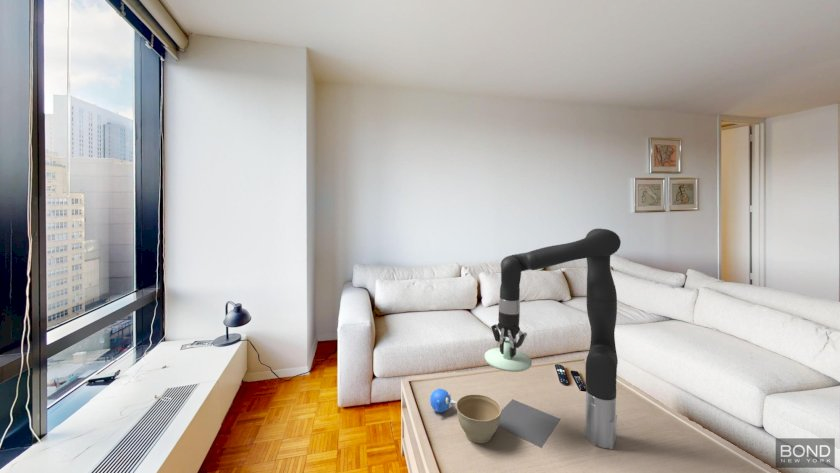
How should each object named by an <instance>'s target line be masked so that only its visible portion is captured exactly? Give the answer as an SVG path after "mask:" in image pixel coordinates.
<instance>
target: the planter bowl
mask: <svg viewBox="0 0 840 473" xmlns="http://www.w3.org/2000/svg"><path fill="white" fill-rule="evenodd" d="M456 402H457V404H456V405H455V406H456V413H457V420H458V422H459V425H460V427H461V429H462V430H463V432H464V434H465V437H466V438H467V439H468V440H469V441H471V442H472V443H473V442H474V443H476V444H484V443H487V442H489V441H490V440H491V439H492V437H493V435H494V434H495V433H496V431H497V430H498V428H499V427H498V426H499V422H500V415H501V410H502V407H501V405H500V403H499V402H498V401H497V400H496V399H494V398H492V397H490V396H488V395H484V394H479V393H478V394H473V393H472V394H466V395H464V396H462V397H460V398H458V400H457V401H456Z"/></svg>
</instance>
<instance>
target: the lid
mask: <svg viewBox="0 0 840 473" xmlns="http://www.w3.org/2000/svg"><path fill="white" fill-rule="evenodd" d="M510 348H511V344H510V341H509V340H506V341H504V353H503V354H501V352H500V347H493V348H490V349H488V350H487V351H486V352H485V353H484V361H485V362H486V364H488V365H489V366H491V367H492V368H495V369H497V370H500V371H503V372H511V373H518V372H524V371H527V370H529V369H530V368H531V367H532V363H533V362H532V358H531V357H530V356H529V355H528V354H527V353H525V352H523V351H521V350H518V349H516V355H515V356H514V357H510Z"/></svg>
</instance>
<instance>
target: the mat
mask: <svg viewBox="0 0 840 473" xmlns="http://www.w3.org/2000/svg"><path fill="white" fill-rule="evenodd" d="M560 421H561V418H560V417H557V416H555V415H553V414H550V413H547V412H545V411H543V410H540V409H537V408H535V407H532V406H530V405H528V404H525V403H523V402H520V401H518V400H515V399H511V400H510V401H508V403H507V404H506V405H505V406H504V407H503V408H501V415H500V422H499V426H498V428H500V429H502V430H504V431H506V432H507V433H510V434H512V435H514V436H516V437H518V438H520V439H523V440H525V441H527V442H529V443H531V444H533V445H534V446H537V447H538V448H542V447H543V446H544V445H545V443H546V441H547V440H548V438H549V437H550V435H551V434H552V432H553V431H554V430H555V428H556V427H557V426H558V423H559V422H560Z"/></svg>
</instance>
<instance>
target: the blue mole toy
mask: <svg viewBox="0 0 840 473" xmlns="http://www.w3.org/2000/svg"><path fill="white" fill-rule="evenodd" d="M429 402H430V406H431V407H432V409H433V410H434V412H435V411H436V413H444V412H446V411H448V409H451V408H452V407H454V406H456V404H457V401H455V400H453V399H452V398H451V394H450V393H449V391H447V390H446V389H443V388H437V389H434V390H433V391H432V392H431V395H430V398H429Z"/></svg>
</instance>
